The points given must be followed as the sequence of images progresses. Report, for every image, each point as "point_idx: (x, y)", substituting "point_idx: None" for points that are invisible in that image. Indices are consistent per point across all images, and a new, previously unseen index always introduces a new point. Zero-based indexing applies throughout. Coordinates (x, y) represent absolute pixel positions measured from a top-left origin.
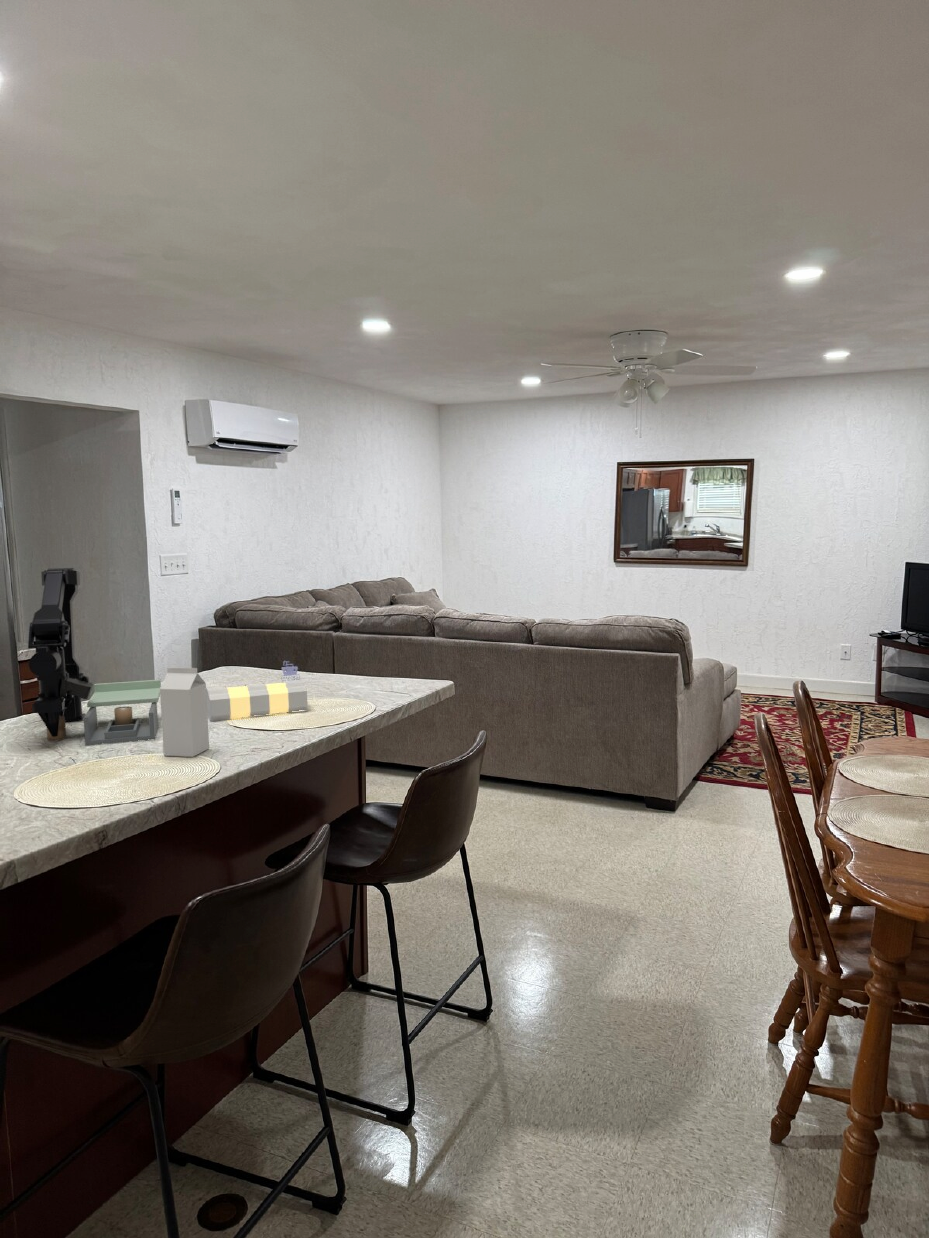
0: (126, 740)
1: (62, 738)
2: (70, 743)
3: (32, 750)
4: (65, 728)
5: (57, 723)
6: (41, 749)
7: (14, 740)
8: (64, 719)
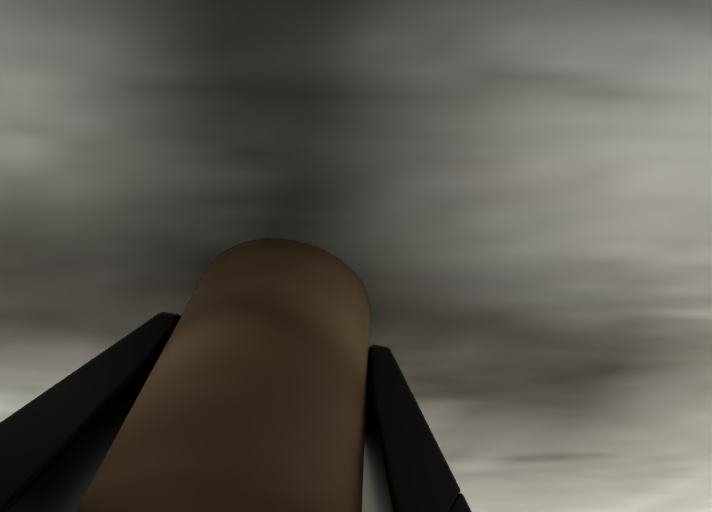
0: None
1: (350, 278)
2: (615, 214)
3: (610, 449)
4: (256, 312)
5: (458, 501)
6: (636, 411)
7: None
8: (249, 442)
